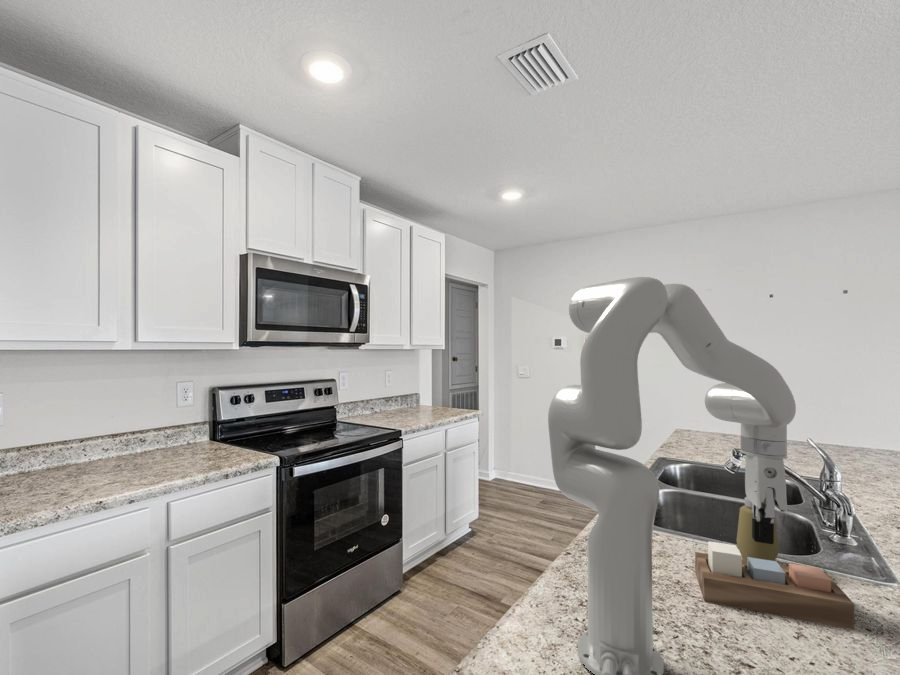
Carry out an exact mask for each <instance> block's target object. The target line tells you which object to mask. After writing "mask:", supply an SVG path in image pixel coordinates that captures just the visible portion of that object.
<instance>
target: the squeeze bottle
mask: <svg viewBox="0 0 900 675" xmlns="http://www.w3.org/2000/svg"><path fill="white" fill-rule="evenodd" d="M738 514H739V516H738V522H737V523H738V524H737V532H736V533H737V534H736V540H735V541H736V544H737V545H736V546H737V548H738V550H739V552H740V554H741V555H742V559H745V560H747V557H751V558H757V559H764V560H771V561H776V560H777V557H778V555H779V552H780V550H779V542H778V541H779V540H778V536H777V535H778V534H777V526H776V520H775V519H776V518H775V519H774V543H773V544H767V543H761V542H756V541H754V539H753V538H752V518H753V516H752V502H751V501H750V500H749V499H748V498H747V496H745V497H744V505H742V506H740V507H739V513H738ZM754 519H755V518H754Z"/></svg>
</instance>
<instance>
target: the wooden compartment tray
mask: <svg viewBox="0 0 900 675" xmlns="http://www.w3.org/2000/svg"><path fill="white" fill-rule="evenodd" d="M694 562H695V564H694V566H695V568H694V571H695V576H696V578H697V583H698V586H699V588H700V592H701V595H702V598H703V602H706V603H710V604H711V603H712V604H715V605H721V606H722V605H723V606H728V607H732V608H738V609H743V610H748V611H752V612H753V611H754V612H757V613H758V612H759V613H765V614H771V615H775V616H780V617H786V618H791V619H795V620H796V619H797V620H799V621H801V620H802V621H806V622H810V623H811V622H812V623H816V624H817V623H818V624H822V625H823V624H824V625H827V626H832V627H838V628H843V629H849V630H854V631H855V603H854V602H853V600H851V598H850V597H848V595H847V594H846V593H845V592H844V590H842V588H840V586H839V585H838V584H837V583H836V582H835V581H834V579H833V578H831V577H830V575H829V574H828V573H827V572H826V571H823V572H824V573H825V574H826V575H827V576H828V578H829V579H830V580H831V592H826V591H820V590H814V589H808V588H802V587H796V586H795V585H794V583H793V582H792V581H791V579H790V578H789V565H782V564H779V565H780V567H781V568H782V570H783V571H784V572H785V585H784V584H778V583H772V582H767V581H761V580H755V579H751V577H750V575H749V573H748V568H747V560H745V559H742V577H737V576H731V575H725V574H719V573H713V572H710V570H709V567H708V553H705V552H698V551H695V552H694Z"/></svg>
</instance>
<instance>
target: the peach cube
mask: <svg viewBox="0 0 900 675" xmlns="http://www.w3.org/2000/svg"><path fill="white" fill-rule="evenodd" d="M788 566H789V578H790V579H791V581H792V582H793V583H794V585H795V586H796V587H802V588H808V589H814V590H820V591H826V592H831V580H830V579H829V578H828V576H827V575H826V574H825V573H824V572H825V571H823V570H822V569H821V568H820V567H815V566H809V565H802V564H796V563H788Z"/></svg>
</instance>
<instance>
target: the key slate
mask: <svg viewBox="0 0 900 675" xmlns="http://www.w3.org/2000/svg"><path fill="white" fill-rule="evenodd" d="M780 565H781V564H780V563H778V561H776V560H775V561H771V560H764V559H757V558H751V557H747V568H748V573H749V575H750V577H751V579H755V580H761V581H767V582H772V583H778V584H784V585H785V572H784V571H783V570H782V568H781V567H780Z"/></svg>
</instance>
